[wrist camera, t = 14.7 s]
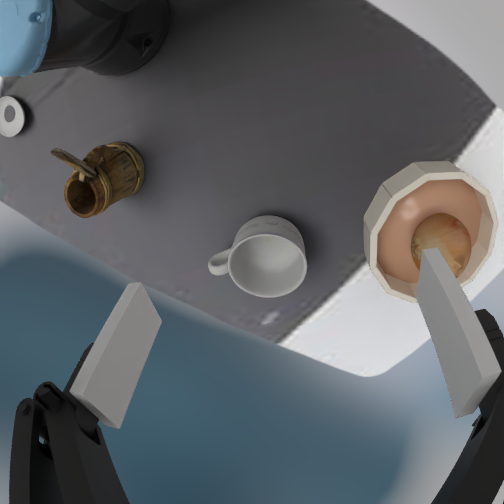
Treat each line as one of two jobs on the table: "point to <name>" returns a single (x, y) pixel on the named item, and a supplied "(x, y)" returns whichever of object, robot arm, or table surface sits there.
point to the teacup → (264, 257)
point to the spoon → (18, 122)
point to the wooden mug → (101, 177)
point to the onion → (443, 241)
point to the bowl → (418, 209)
